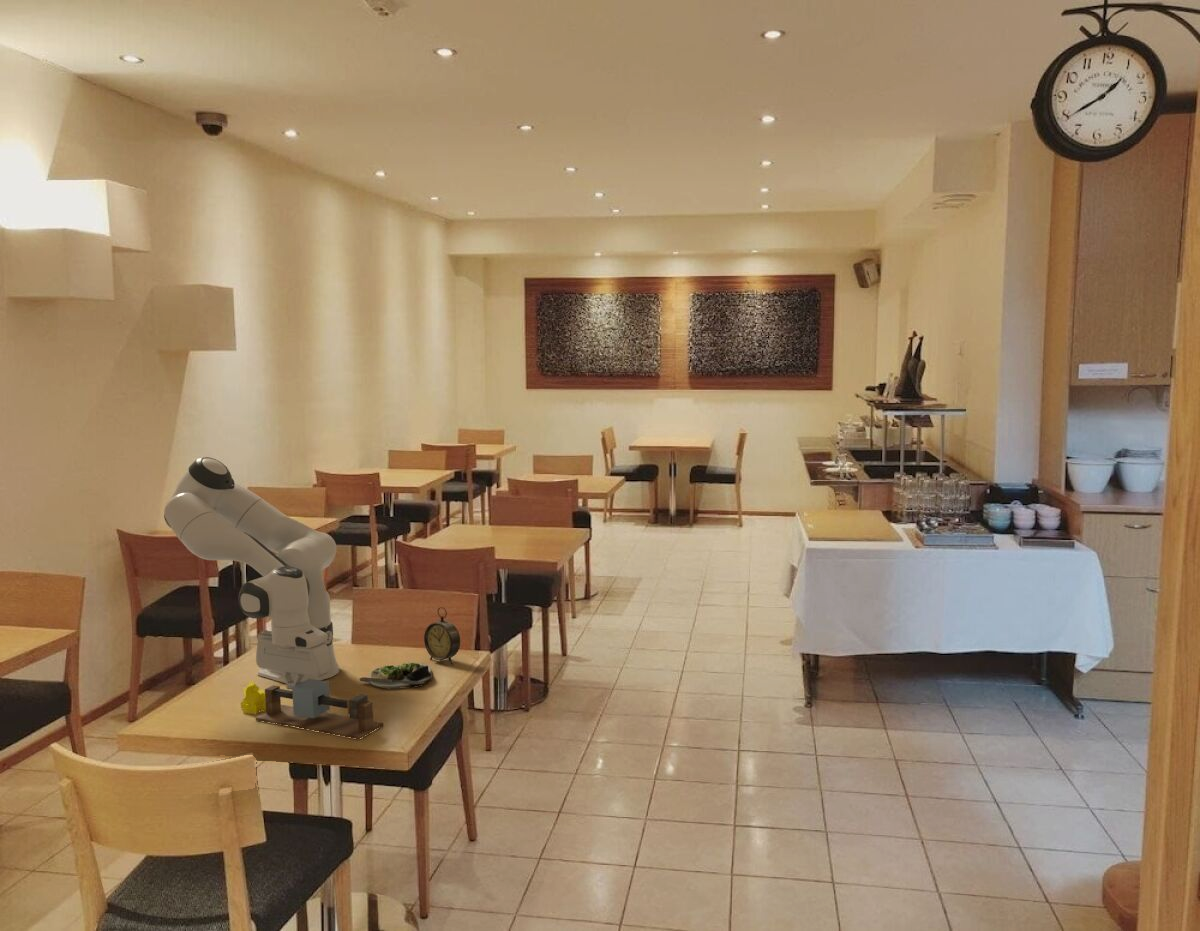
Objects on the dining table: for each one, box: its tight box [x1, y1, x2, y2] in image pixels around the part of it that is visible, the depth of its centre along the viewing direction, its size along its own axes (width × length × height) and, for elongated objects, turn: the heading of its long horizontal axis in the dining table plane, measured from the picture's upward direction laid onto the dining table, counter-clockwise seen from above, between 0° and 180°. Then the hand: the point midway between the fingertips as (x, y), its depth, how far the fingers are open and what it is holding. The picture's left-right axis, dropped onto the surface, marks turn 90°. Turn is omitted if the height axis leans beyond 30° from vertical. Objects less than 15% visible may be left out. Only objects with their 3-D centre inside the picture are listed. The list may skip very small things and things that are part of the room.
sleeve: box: [291, 679, 331, 718], centre depth 227 cm, size 6×6×7 cm
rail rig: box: [255, 684, 384, 740], centre depth 226 cm, size 31×9×8 cm, turn 67°
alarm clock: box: [423, 606, 461, 665], centre depth 270 cm, size 11×5×16 cm, turn 55°
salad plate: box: [359, 662, 433, 690], centre depth 256 cm, size 19×18×5 cm
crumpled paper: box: [240, 679, 266, 714], centre depth 236 cm, size 6×8×8 cm
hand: (293, 688), depth 228 cm, fingers closed
